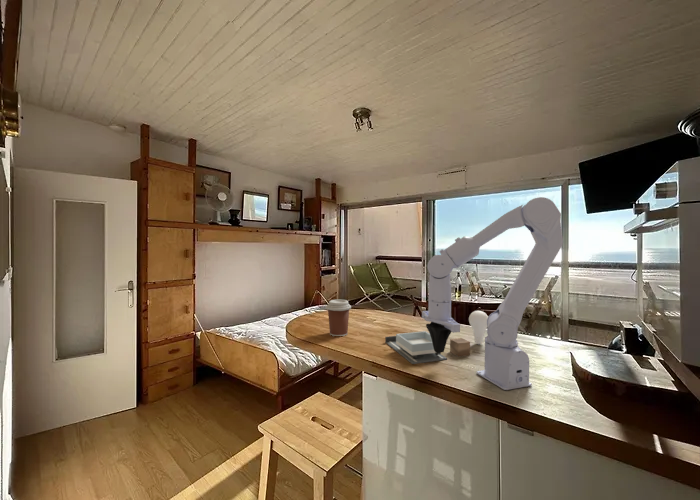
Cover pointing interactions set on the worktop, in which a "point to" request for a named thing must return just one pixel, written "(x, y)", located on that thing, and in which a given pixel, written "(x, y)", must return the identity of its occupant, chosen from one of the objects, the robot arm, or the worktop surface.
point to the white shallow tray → (416, 343)
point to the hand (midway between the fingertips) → (439, 351)
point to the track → (419, 359)
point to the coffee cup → (338, 317)
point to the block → (460, 347)
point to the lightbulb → (478, 325)
